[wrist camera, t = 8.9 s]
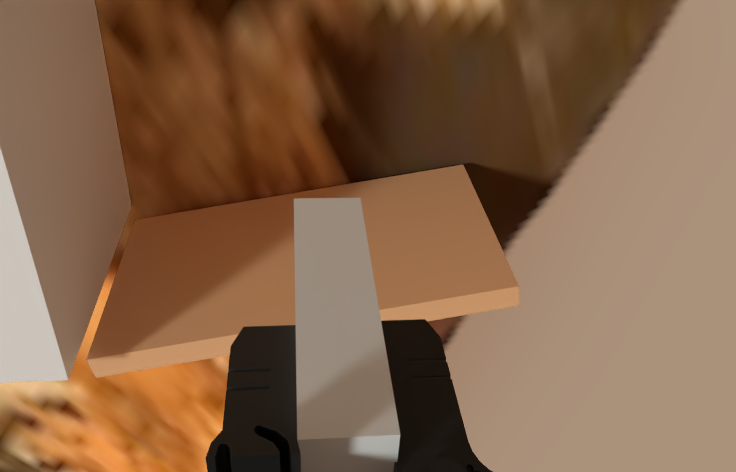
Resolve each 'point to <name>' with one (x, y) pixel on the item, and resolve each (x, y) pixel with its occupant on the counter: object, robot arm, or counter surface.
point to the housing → (54, 183)
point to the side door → (277, 268)
